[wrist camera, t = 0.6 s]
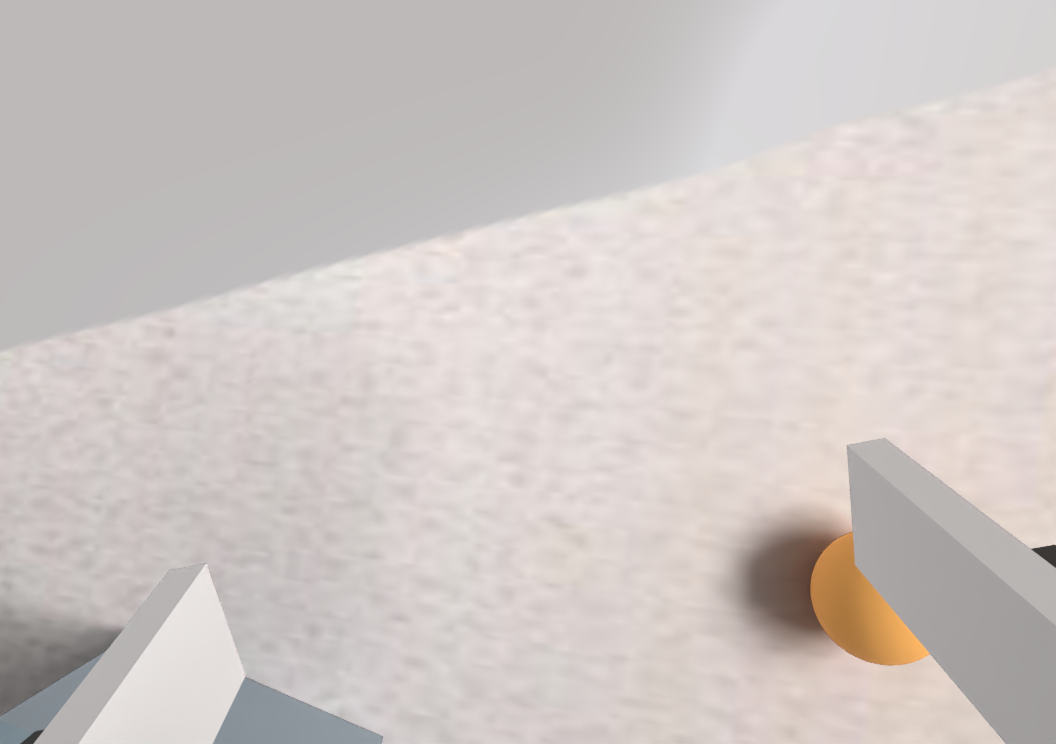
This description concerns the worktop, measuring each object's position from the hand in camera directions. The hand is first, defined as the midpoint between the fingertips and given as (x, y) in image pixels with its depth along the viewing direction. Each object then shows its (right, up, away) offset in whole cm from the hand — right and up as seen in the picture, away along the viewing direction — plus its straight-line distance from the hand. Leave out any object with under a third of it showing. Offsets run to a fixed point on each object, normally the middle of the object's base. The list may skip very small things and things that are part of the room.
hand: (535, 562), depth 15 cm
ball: (+13, -5, +13) cm, 19 cm away
